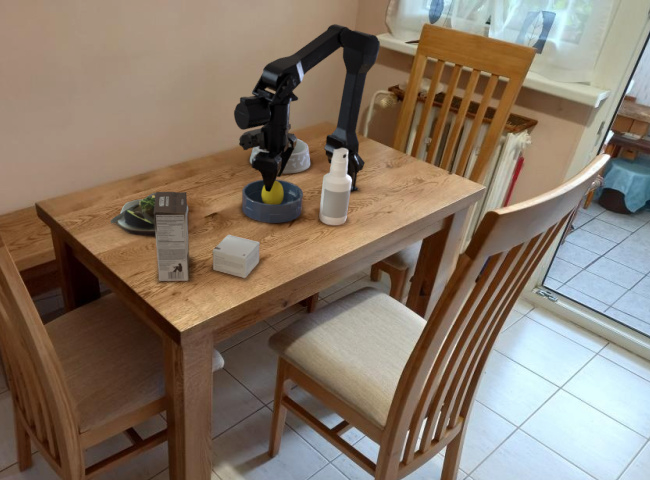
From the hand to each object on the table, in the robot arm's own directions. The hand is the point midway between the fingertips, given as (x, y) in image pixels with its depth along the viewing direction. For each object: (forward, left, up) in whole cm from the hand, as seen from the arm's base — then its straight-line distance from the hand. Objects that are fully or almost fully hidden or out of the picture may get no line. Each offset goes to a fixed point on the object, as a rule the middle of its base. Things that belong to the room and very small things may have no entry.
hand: (273, 183), depth 143 cm
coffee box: (+31, +19, -7) cm, 37 cm away
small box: (+18, +22, -7) cm, 29 cm away
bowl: (0, 0, -7) cm, 7 cm away
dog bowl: (-15, -28, -7) cm, 33 cm away
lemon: (0, 0, -7) cm, 7 cm away
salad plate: (+30, -4, -7) cm, 31 cm away
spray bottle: (-12, +10, -7) cm, 17 cm away
